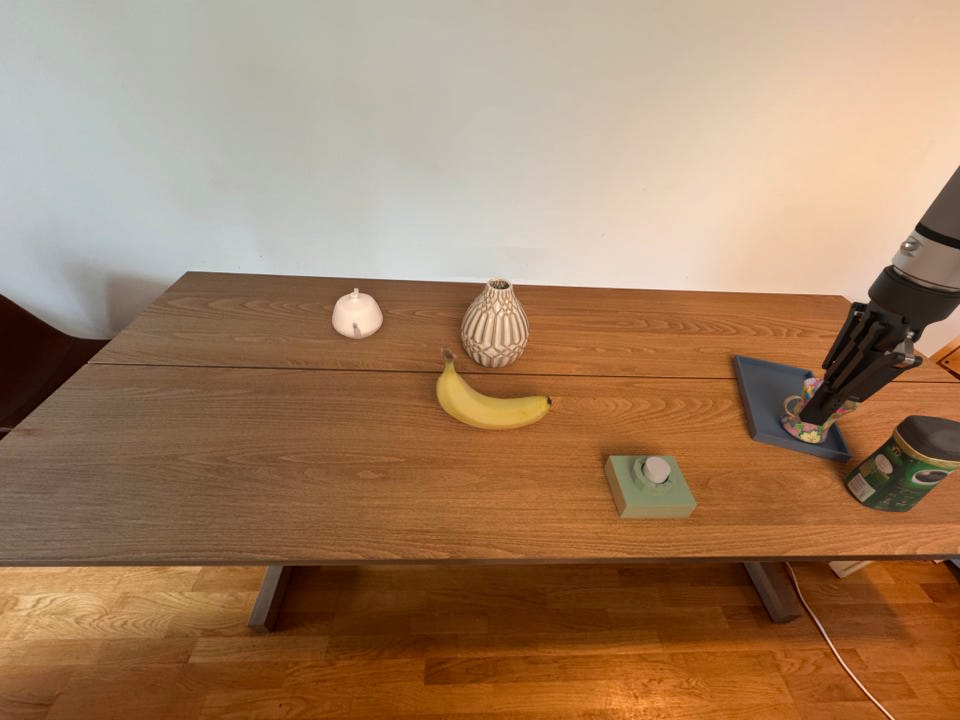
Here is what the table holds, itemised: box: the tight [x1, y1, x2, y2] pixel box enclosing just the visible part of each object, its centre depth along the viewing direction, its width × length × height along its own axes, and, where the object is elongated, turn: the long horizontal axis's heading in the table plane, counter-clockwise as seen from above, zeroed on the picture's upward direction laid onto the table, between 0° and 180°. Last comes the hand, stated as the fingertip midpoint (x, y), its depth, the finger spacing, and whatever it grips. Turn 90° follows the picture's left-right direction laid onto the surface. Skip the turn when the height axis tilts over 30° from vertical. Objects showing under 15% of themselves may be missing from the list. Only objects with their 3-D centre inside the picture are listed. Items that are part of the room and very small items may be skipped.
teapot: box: [331, 287, 384, 340], centre depth 104 cm, size 20×12×10 cm, turn 12°
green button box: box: [603, 454, 698, 519], centre depth 73 cm, size 12×10×6 cm
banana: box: [435, 346, 553, 431], centre depth 79 cm, size 23×6×20 cm, turn 95°
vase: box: [460, 277, 531, 369], centre depth 96 cm, size 16×16×20 cm
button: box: [642, 457, 671, 484], centre depth 71 cm, size 4×4×2 cm
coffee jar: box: [844, 414, 960, 513], centre depth 72 cm, size 10×8×19 cm
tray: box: [732, 354, 853, 464], centre depth 94 cm, size 27×17×2 cm, turn 163°
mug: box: [780, 377, 860, 443], centre depth 85 cm, size 12×9×11 cm
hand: (810, 420), depth 62 cm, fingers closed
